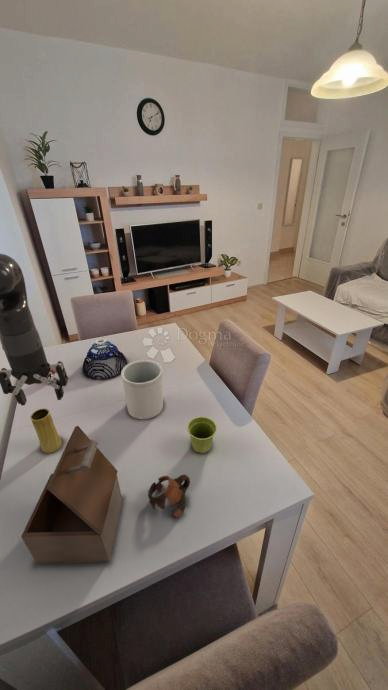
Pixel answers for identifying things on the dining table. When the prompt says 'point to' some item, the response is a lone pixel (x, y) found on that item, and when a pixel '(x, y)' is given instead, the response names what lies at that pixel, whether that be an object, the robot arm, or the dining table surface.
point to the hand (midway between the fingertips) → (42, 400)
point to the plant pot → (201, 433)
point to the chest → (69, 531)
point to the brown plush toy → (170, 493)
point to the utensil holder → (143, 388)
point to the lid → (84, 480)
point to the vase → (46, 430)
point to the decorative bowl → (100, 355)
